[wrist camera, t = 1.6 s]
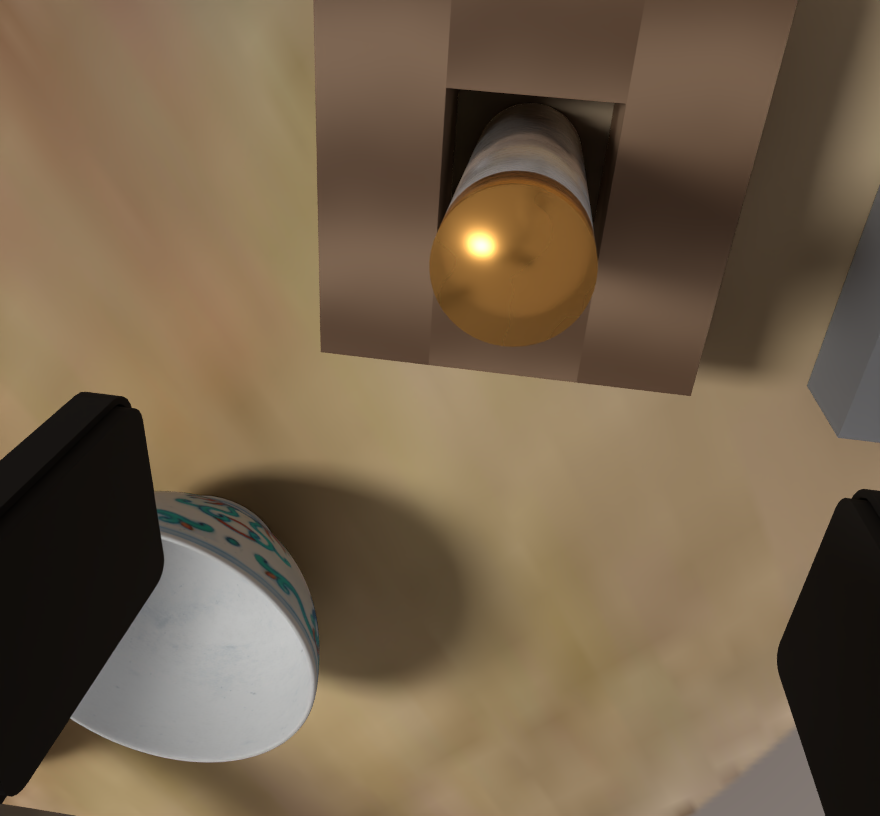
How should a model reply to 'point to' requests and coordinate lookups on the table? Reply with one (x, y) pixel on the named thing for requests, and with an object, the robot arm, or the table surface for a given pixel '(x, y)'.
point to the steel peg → (518, 232)
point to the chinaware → (211, 643)
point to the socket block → (622, 185)
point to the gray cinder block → (854, 345)
